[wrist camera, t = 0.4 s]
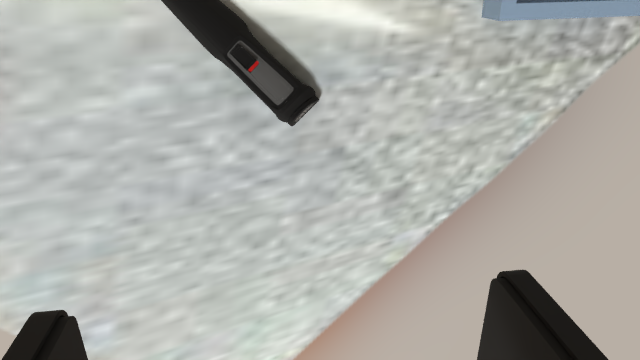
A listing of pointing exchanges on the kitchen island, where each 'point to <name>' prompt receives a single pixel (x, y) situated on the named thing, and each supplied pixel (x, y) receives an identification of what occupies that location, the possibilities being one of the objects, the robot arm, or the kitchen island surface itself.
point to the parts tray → (558, 9)
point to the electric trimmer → (245, 56)
